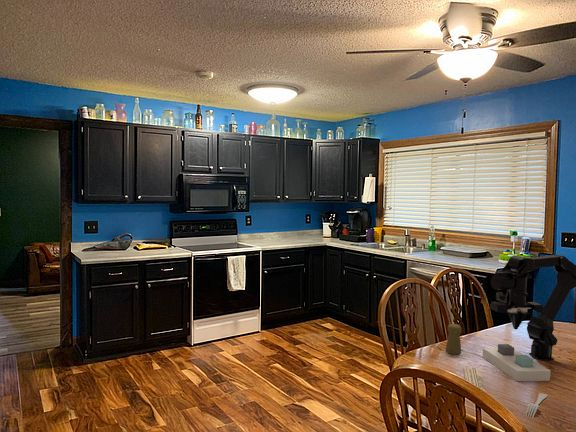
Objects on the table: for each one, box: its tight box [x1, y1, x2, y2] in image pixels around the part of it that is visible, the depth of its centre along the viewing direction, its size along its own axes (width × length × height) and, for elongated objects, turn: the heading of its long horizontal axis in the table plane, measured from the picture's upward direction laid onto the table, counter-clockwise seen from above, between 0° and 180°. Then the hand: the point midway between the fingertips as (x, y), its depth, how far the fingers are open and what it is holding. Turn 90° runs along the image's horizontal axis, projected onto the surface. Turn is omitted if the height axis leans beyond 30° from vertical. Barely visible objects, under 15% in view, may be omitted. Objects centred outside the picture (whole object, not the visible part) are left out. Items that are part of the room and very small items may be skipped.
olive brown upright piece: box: [445, 323, 462, 355], centre depth 177 cm, size 6×6×11 cm
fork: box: [525, 392, 549, 419], centre depth 134 cm, size 3×21×3 cm, turn 139°
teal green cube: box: [515, 354, 534, 367], centre depth 156 cm, size 4×4×4 cm
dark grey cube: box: [497, 343, 515, 356], centre depth 167 cm, size 4×4×4 cm
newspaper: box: [462, 366, 488, 393], centre depth 147 cm, size 24×7×2 cm, turn 162°
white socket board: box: [482, 347, 551, 382], centre depth 162 cm, size 12×22×4 cm, turn 6°
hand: (515, 329), depth 170 cm, fingers closed
